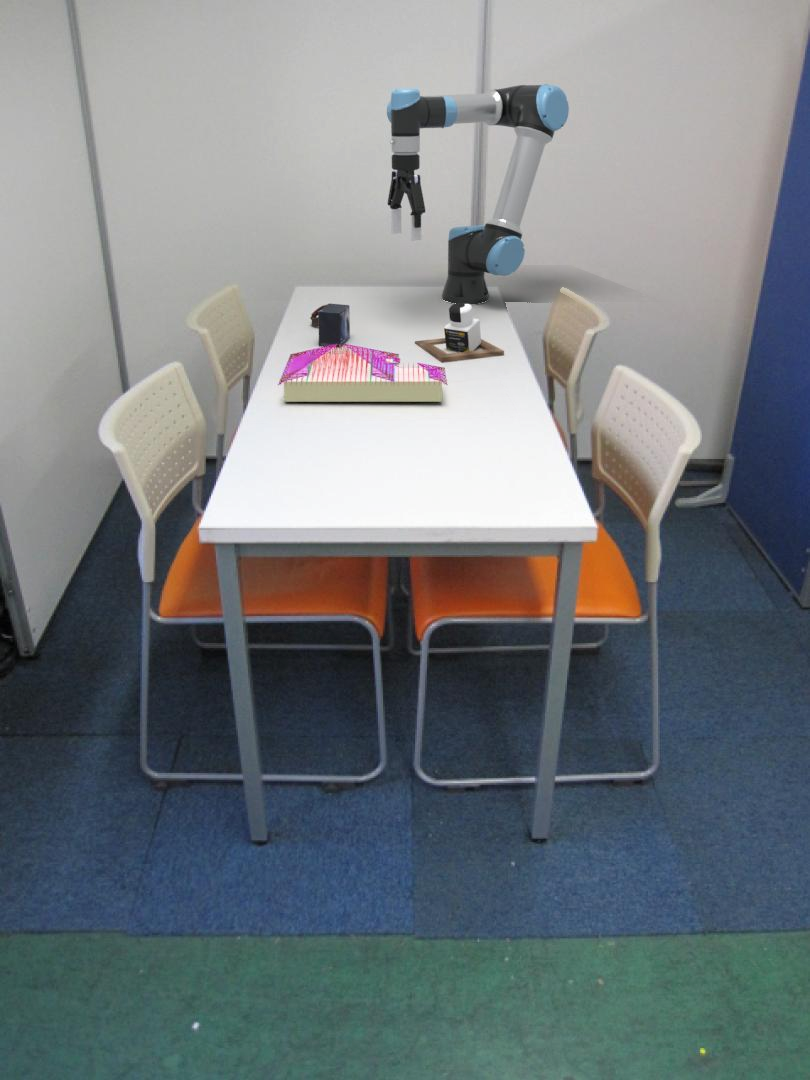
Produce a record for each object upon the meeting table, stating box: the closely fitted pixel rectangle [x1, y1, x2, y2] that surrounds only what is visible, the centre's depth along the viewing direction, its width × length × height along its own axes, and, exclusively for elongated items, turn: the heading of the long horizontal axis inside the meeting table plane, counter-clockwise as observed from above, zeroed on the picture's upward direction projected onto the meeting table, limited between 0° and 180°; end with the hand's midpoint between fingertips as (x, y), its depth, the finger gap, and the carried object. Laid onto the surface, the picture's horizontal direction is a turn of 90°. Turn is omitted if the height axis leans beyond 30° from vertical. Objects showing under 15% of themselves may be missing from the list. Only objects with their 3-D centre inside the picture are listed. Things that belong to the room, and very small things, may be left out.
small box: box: [317, 303, 351, 349], centre depth 238 cm, size 11×6×10 cm, turn 168°
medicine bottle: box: [443, 303, 482, 353], centre depth 232 cm, size 7×7×12 cm
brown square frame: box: [414, 337, 505, 364], centre depth 235 cm, size 18×18×2 cm
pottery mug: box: [309, 303, 329, 328], centre depth 255 cm, size 12×9×8 cm
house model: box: [277, 343, 449, 403], centre depth 206 cm, size 38×25×10 cm
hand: (406, 236), depth 244 cm, fingers open, 13 cm apart
